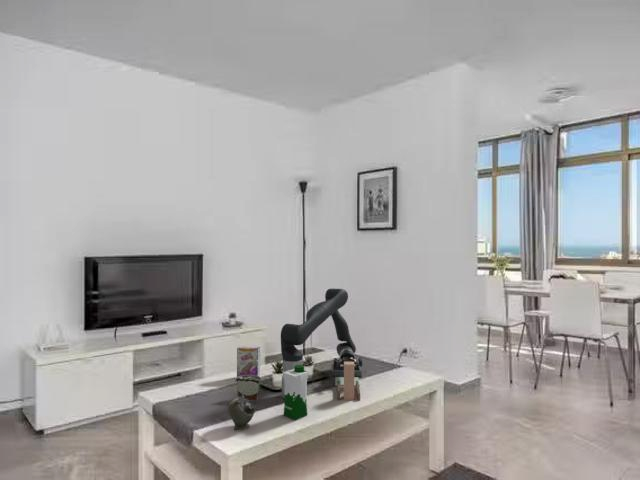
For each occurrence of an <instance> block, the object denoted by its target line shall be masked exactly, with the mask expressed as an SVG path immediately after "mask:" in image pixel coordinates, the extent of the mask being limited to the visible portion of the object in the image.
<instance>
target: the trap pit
mask: <svg viewBox="0 0 640 480" xmlns="http://www.w3.org/2000/svg"><path fill="white" fill-rule="evenodd" d="M330 367H331V369H330V371H331V375H330V376H331V377H344V366H340V369H339V368H337V366H334V363H331V364H330ZM362 375H363V371H362V366H359V368H358V369H356V366H354V377H358V378H361V377H363V376H362Z"/></svg>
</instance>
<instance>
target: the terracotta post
mask: <svg viewBox="0 0 640 480" xmlns="http://www.w3.org/2000/svg"><path fill="white" fill-rule="evenodd" d="M343 400H344V401H345V400H346V401H347V400H349V401H350V400H351V401H352V400H353V401H354V400H355V386H354V362H344V386H343Z"/></svg>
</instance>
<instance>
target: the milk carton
mask: <svg viewBox="0 0 640 480" xmlns="http://www.w3.org/2000/svg"><path fill="white" fill-rule="evenodd" d="M282 376H283V377H284V384H285V398H284V403H283V416H285V417H287V418H290V419H291V420H293V421H297V420H299V419H301V418H303V417H307V416H308V407H307V406H308V405H307V404H308V403H307V400H308V399H307V398H308V397H307V392H308V391H307V388H308V387H307V386H308V383H307V382H308V377H309V371H306V370H305V365H295V368H294V369H292V370H288V371H286V372H283V371H282Z"/></svg>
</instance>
